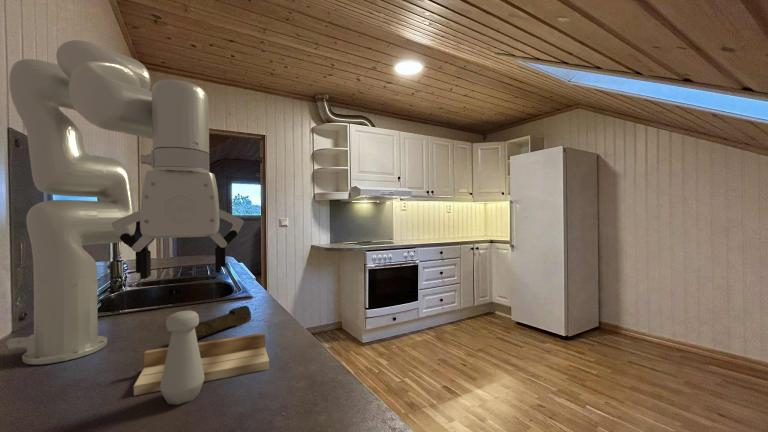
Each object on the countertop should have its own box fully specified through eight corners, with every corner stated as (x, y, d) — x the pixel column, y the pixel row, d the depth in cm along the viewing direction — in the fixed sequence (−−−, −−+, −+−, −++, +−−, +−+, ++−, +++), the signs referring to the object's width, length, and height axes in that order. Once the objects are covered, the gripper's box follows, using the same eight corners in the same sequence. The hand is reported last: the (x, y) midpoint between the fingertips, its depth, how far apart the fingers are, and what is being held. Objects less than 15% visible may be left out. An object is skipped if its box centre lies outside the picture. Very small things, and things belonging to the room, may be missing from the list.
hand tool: (186, 347, 70) (186, 326, 70) (175, 344, 72) (175, 323, 72) (257, 322, 87) (257, 305, 87) (247, 320, 89) (247, 303, 89)
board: (133, 395, 51) (133, 369, 51) (148, 369, 60) (148, 347, 60) (269, 368, 59) (268, 346, 59) (263, 349, 68) (263, 330, 68)
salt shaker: (157, 412, 46) (156, 320, 46) (162, 393, 51) (162, 310, 51) (204, 401, 49) (203, 314, 49) (205, 384, 54) (204, 305, 54)
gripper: (103, 156, 44) (104, 284, 43) (243, 163, 51) (245, 273, 51) (119, 165, 50) (121, 276, 50) (241, 170, 58) (243, 267, 58)
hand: (183, 274), depth 51 cm, fingers open, 9 cm apart
